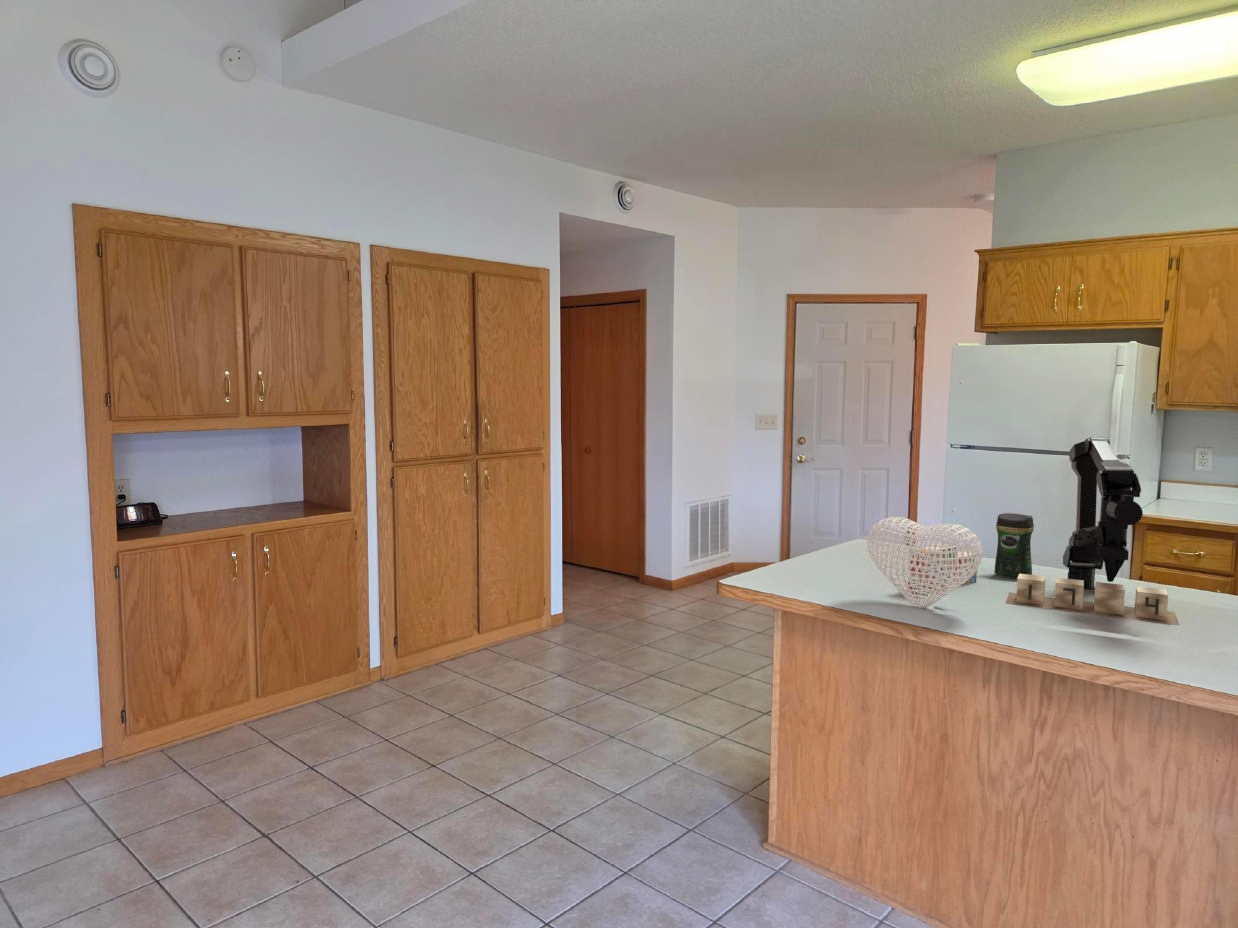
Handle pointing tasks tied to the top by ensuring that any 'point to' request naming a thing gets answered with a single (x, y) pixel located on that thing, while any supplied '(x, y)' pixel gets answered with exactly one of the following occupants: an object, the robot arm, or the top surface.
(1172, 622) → the walnut mat
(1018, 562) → the coffee jar
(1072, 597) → the block seven
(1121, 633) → the top surface
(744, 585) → the top surface
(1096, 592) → the plain block
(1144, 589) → the block four
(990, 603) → the top surface
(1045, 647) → the top surface
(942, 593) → the heart
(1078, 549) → the robot arm
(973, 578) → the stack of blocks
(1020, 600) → the block one
